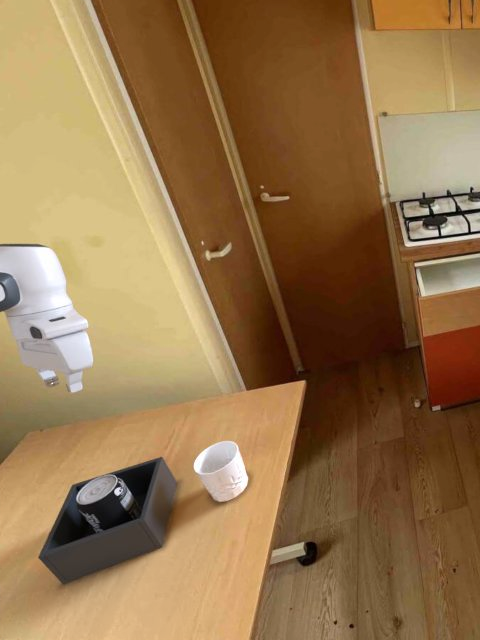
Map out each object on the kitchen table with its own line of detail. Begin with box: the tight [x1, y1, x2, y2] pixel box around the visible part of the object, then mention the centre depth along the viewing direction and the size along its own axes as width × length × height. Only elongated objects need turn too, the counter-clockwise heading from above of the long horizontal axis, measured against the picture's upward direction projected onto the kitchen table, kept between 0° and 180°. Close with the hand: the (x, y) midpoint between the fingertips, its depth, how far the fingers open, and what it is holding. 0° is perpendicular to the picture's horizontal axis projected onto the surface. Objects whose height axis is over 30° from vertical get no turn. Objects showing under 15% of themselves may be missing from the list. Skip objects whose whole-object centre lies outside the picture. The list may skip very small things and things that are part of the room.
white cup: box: [192, 440, 249, 503], centre depth 90 cm, size 8×8×10 cm
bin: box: [37, 456, 178, 585], centre depth 82 cm, size 15×15×9 cm
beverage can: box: [76, 474, 142, 533], centre depth 81 cm, size 7×7×12 cm
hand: (63, 388), depth 85 cm, fingers open, 8 cm apart
